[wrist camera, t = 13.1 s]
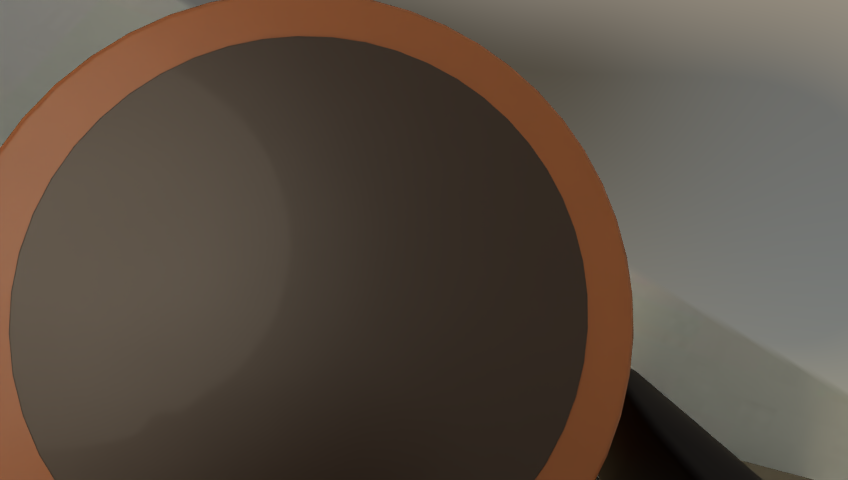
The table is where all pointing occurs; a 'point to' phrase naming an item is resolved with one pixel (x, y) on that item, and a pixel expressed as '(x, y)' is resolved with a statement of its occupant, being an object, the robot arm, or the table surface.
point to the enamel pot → (771, 473)
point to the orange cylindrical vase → (305, 260)
